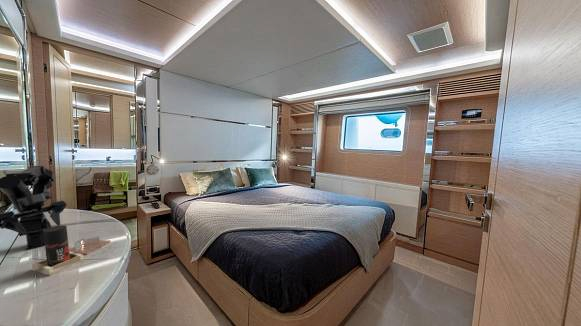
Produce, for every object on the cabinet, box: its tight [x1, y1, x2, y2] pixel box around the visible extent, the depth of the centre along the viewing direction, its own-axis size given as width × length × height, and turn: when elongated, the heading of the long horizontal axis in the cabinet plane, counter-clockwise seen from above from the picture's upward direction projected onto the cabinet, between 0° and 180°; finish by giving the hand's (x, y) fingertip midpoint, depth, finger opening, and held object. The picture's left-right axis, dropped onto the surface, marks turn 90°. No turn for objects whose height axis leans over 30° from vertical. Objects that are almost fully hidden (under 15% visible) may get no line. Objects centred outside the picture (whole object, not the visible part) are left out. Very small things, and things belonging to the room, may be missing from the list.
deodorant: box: [43, 224, 70, 267], centre depth 81 cm, size 6×6×15 cm
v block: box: [69, 235, 111, 255], centre depth 95 cm, size 10×11×3 cm
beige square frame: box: [31, 251, 85, 277], centre depth 82 cm, size 10×10×2 cm
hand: (43, 229), depth 82 cm, fingers open, 9 cm apart
